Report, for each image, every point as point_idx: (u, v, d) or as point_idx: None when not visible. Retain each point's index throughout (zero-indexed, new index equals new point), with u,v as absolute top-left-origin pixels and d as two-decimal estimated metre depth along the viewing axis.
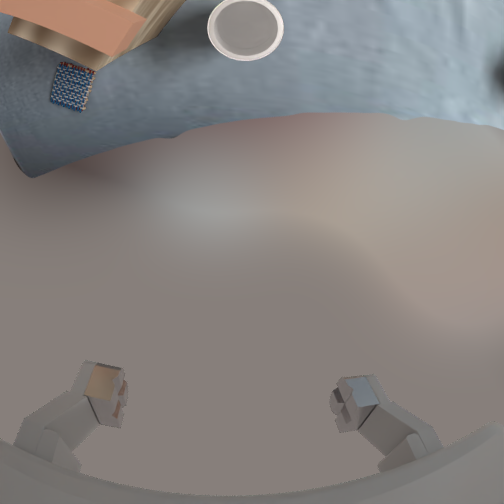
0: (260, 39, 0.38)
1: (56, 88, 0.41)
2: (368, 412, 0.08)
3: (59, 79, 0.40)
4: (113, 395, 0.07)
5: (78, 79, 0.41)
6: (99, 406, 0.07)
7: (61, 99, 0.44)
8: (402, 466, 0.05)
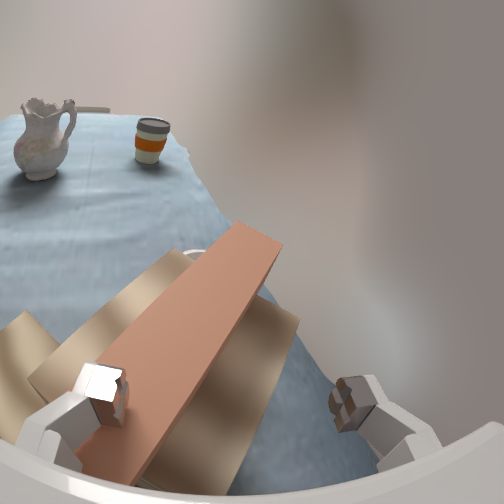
0: None
1: None
2: (367, 412, 0.08)
3: None
4: (115, 396, 0.07)
5: None
6: (101, 406, 0.07)
7: None
8: (402, 466, 0.05)
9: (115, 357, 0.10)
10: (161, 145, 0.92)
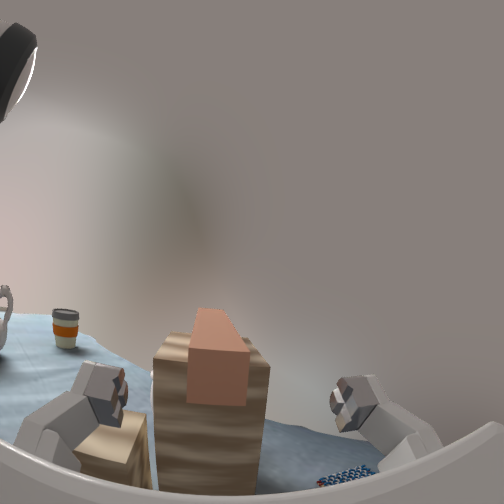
0: None
1: None
2: (369, 412, 0.08)
3: None
4: (113, 396, 0.07)
5: None
6: (99, 406, 0.07)
7: None
8: (402, 466, 0.05)
9: (200, 320, 0.30)
10: (76, 330, 0.95)
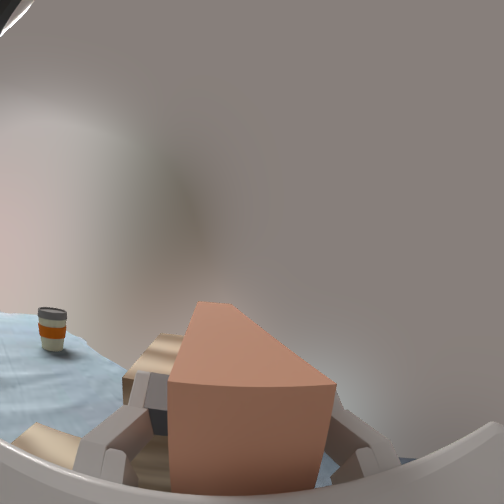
0: None
1: None
2: None
3: None
4: None
5: None
6: (159, 417, 0.07)
7: None
8: (402, 466, 0.05)
9: (200, 315, 0.19)
10: (63, 331, 0.84)
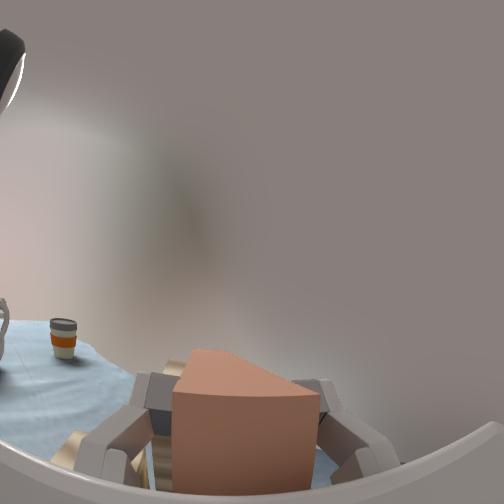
0: None
1: None
2: None
3: None
4: None
5: None
6: (160, 417, 0.07)
7: None
8: (402, 466, 0.05)
9: (198, 357, 0.19)
10: (74, 341, 0.92)
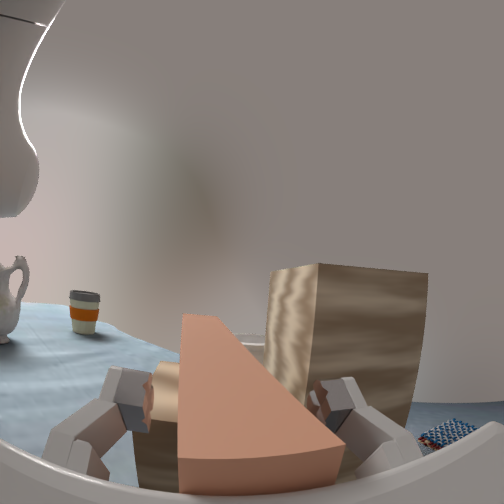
0: None
1: None
2: (344, 416, 0.08)
3: None
4: (144, 401, 0.07)
5: (441, 436, 0.28)
6: (129, 412, 0.07)
7: (473, 430, 0.27)
8: (402, 466, 0.05)
9: (189, 338, 0.18)
10: (97, 314, 0.90)
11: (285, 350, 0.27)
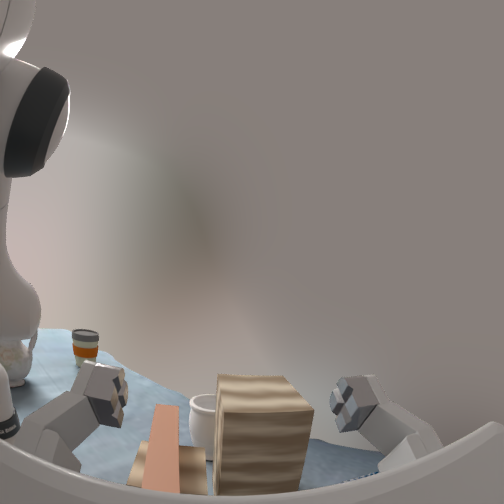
0: None
1: None
2: (368, 412, 0.08)
3: None
4: (113, 395, 0.07)
5: None
6: (99, 406, 0.07)
7: None
8: (402, 466, 0.05)
9: (152, 447, 0.27)
10: (96, 351, 1.00)
11: (218, 437, 0.36)
